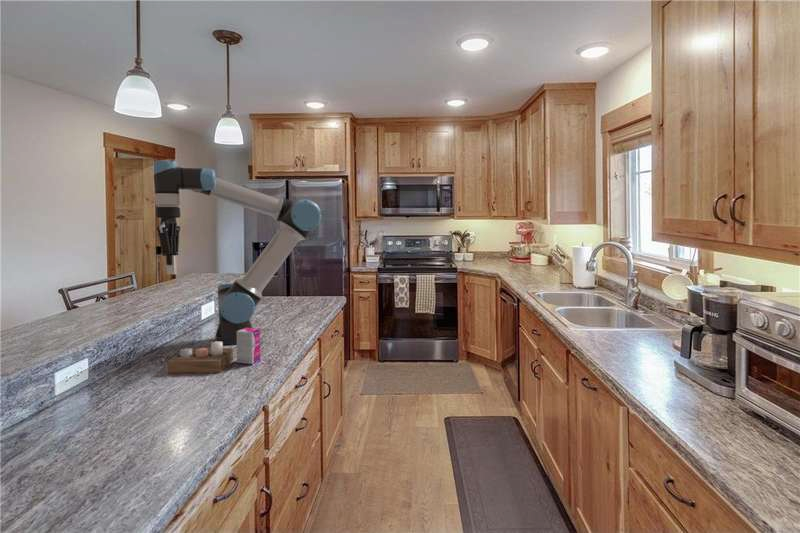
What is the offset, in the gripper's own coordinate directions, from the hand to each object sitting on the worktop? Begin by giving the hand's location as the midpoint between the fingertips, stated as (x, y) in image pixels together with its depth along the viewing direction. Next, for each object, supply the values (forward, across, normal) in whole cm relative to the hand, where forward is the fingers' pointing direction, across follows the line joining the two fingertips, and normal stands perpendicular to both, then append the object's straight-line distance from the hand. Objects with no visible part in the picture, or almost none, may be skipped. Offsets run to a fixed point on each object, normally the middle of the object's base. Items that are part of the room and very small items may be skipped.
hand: (171, 273), depth 161 cm
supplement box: (+30, +10, +28) cm, 42 cm away
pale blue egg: (+28, +13, +9) cm, 32 cm away
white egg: (+26, +13, +19) cm, 34 cm away
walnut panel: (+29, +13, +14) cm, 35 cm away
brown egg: (+28, +13, +14) cm, 34 cm away
